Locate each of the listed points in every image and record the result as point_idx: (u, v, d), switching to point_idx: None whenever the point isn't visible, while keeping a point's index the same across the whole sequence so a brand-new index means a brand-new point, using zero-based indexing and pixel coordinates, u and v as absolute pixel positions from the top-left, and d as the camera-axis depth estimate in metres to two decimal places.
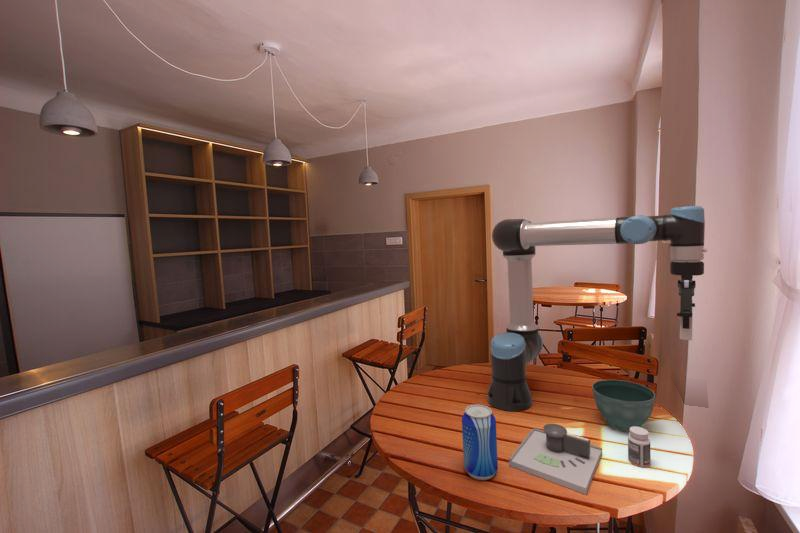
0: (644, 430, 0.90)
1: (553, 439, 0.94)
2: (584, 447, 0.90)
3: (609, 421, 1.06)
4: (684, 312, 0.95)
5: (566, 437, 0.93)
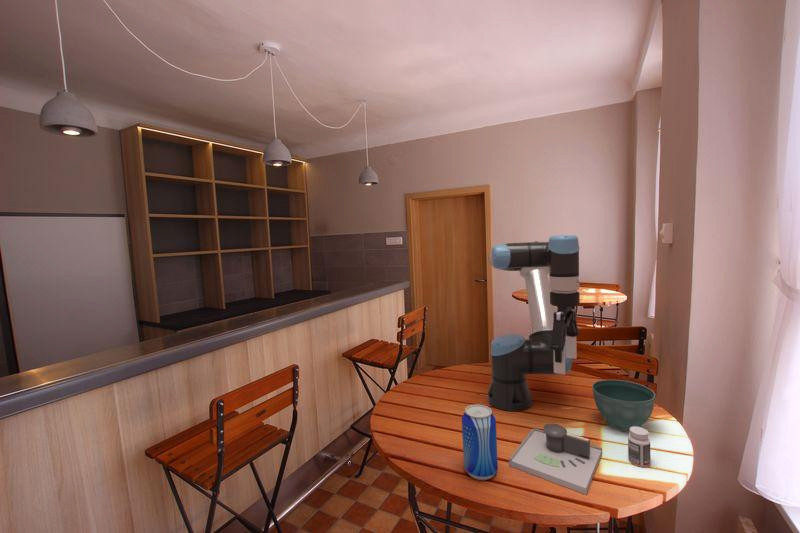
0: (644, 430, 0.90)
1: (553, 439, 0.94)
2: (584, 447, 0.90)
3: (609, 421, 1.06)
4: (554, 346, 0.92)
5: (566, 437, 0.93)
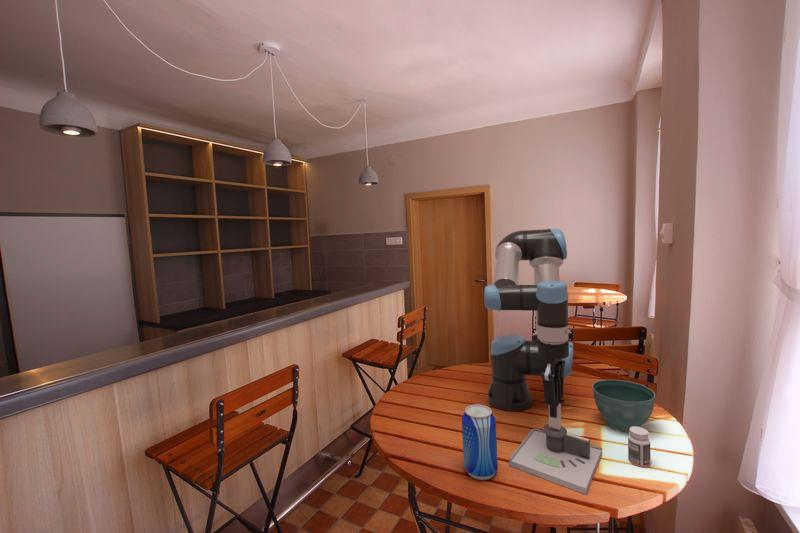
0: (644, 430, 0.90)
1: (553, 439, 0.94)
2: (584, 447, 0.90)
3: (609, 421, 1.06)
4: (549, 402, 0.92)
5: (566, 437, 0.93)
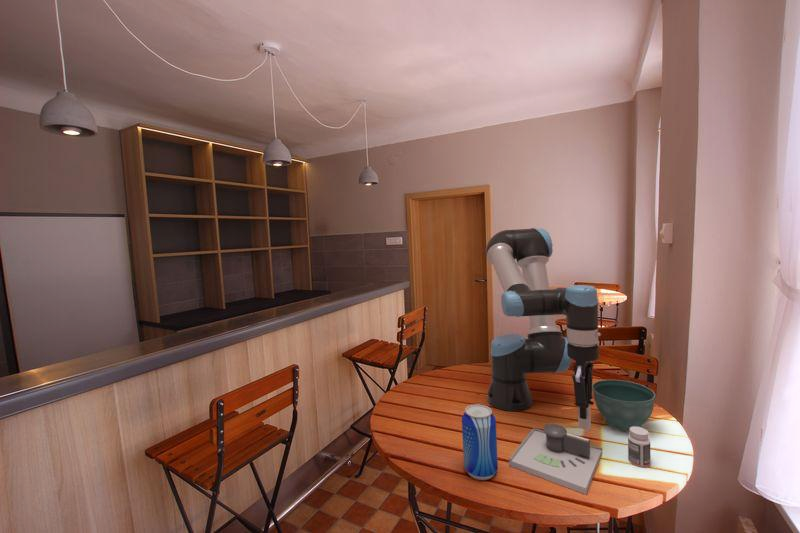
0: (644, 430, 0.90)
1: (553, 439, 0.94)
2: (584, 447, 0.90)
3: (609, 421, 1.06)
4: (579, 403, 0.94)
5: (566, 437, 0.93)
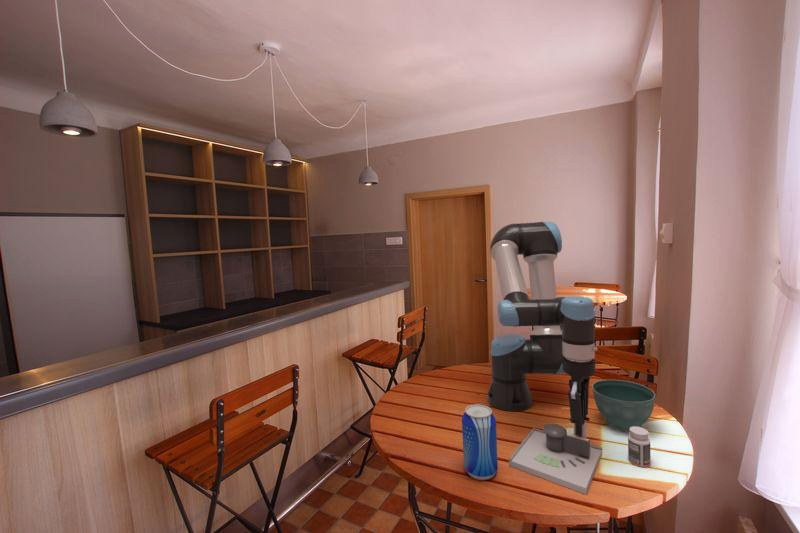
0: (644, 430, 0.90)
1: (552, 439, 0.94)
2: (584, 447, 0.90)
3: (609, 421, 1.06)
4: (575, 420, 0.90)
5: (566, 437, 0.93)
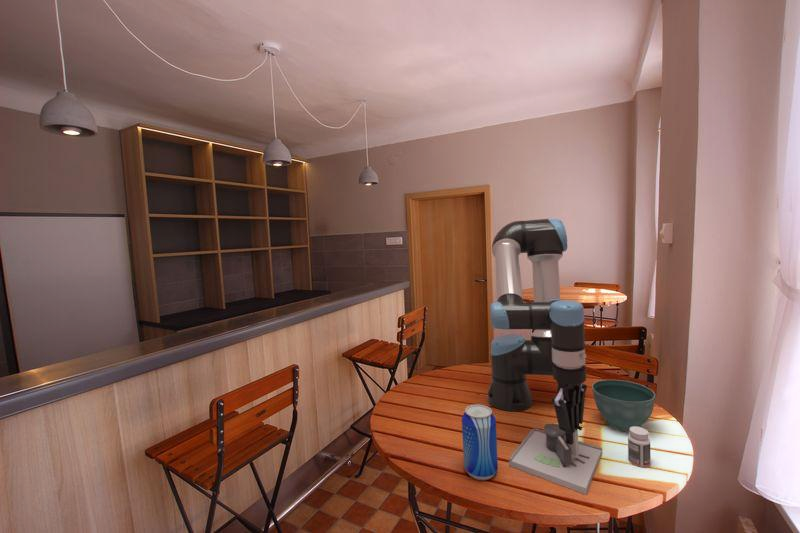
0: (644, 430, 0.90)
1: (546, 436, 0.96)
2: (562, 453, 0.88)
3: (609, 421, 1.06)
4: (562, 427, 0.88)
5: (556, 438, 0.93)
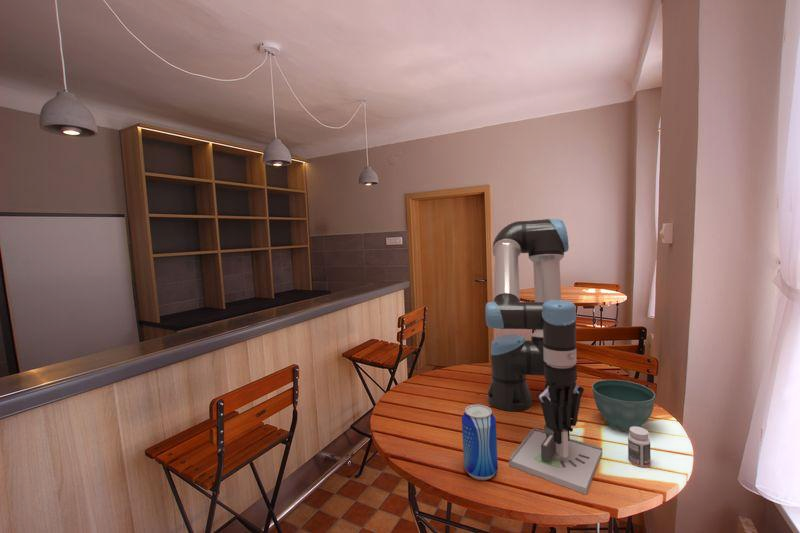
0: (644, 430, 0.90)
1: None
2: None
3: (609, 421, 1.06)
4: (549, 425, 0.89)
5: (548, 436, 0.94)
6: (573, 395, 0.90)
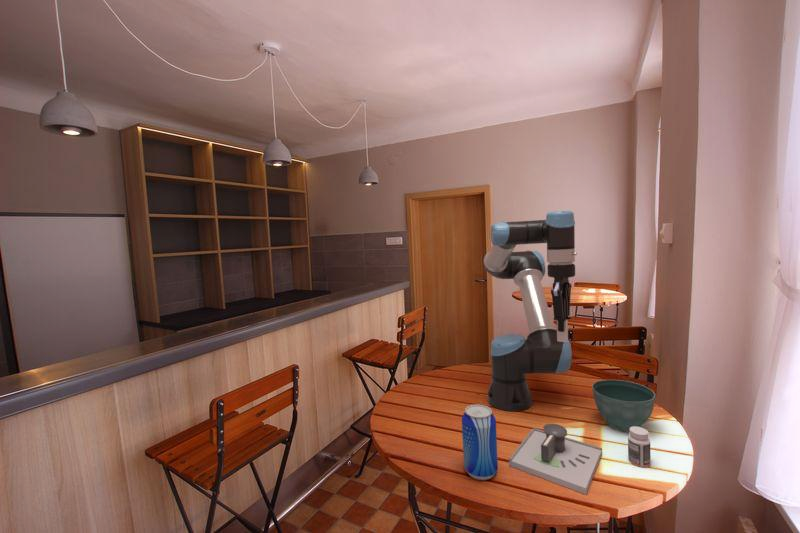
0: (644, 430, 0.90)
1: None
2: None
3: (609, 421, 1.06)
4: (557, 316, 1.04)
5: (548, 436, 0.94)
6: None
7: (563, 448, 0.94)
